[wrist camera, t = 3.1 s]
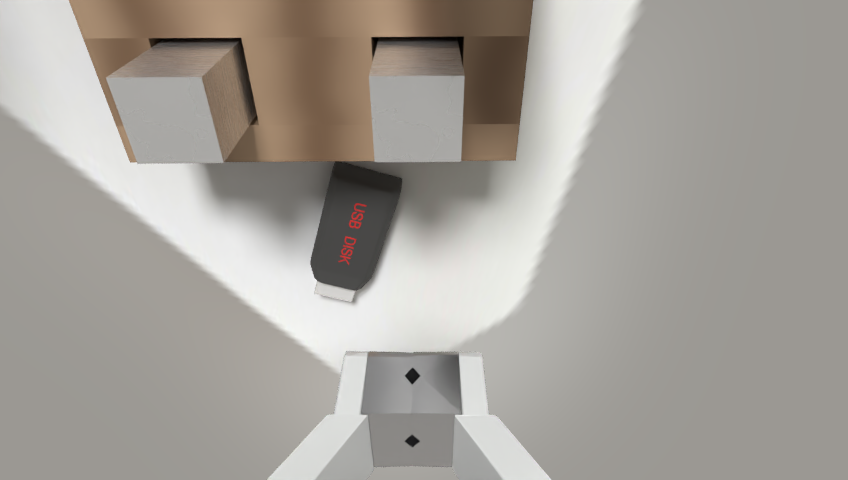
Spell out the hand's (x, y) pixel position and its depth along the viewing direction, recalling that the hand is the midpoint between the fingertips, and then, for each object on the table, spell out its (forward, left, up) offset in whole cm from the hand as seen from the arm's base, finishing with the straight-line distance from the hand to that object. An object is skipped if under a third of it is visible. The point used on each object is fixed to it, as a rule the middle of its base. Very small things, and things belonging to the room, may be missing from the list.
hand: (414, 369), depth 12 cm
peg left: (-11, 0, -21) cm, 24 cm away
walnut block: (-6, 0, -27) cm, 27 cm away
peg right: (0, 0, -21) cm, 21 cm away
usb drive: (-6, -15, -27) cm, 32 cm away
